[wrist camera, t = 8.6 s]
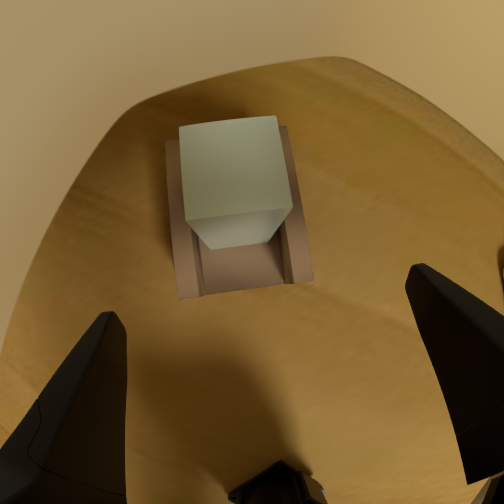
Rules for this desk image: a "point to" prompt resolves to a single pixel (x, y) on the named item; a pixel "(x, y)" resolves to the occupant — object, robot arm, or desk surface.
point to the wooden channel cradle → (240, 257)
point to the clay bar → (234, 180)
